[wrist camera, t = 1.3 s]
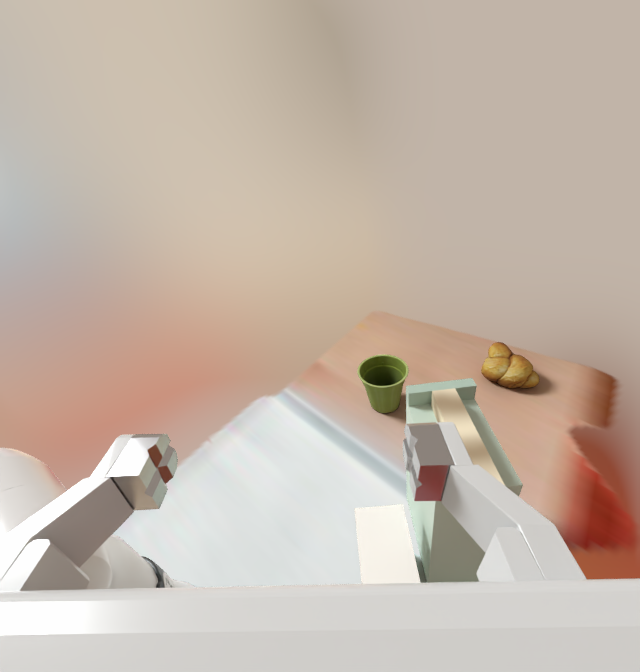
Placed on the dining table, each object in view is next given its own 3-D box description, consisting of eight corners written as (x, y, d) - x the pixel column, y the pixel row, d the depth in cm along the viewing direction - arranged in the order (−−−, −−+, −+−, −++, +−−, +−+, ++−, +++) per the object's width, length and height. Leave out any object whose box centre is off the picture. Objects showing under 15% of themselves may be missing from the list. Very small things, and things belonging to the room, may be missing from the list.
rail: (536, 577, 27) (544, 562, 25) (499, 579, 27) (506, 565, 26) (453, 403, 44) (455, 388, 42) (431, 406, 44) (432, 390, 42)
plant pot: (411, 389, 83) (411, 356, 77) (405, 424, 75) (405, 390, 68) (366, 384, 88) (363, 352, 81) (356, 416, 79) (352, 383, 73)
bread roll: (543, 381, 79) (551, 356, 74) (525, 402, 75) (532, 377, 70) (491, 359, 88) (496, 336, 83) (472, 378, 84) (476, 354, 79)
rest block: (423, 646, 44) (426, 611, 35) (372, 649, 44) (364, 615, 36) (403, 549, 54) (403, 504, 45) (362, 552, 54) (354, 508, 46)
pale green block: (487, 582, 49) (527, 471, 32) (427, 586, 49) (437, 480, 33) (454, 493, 60) (472, 378, 44) (406, 497, 61) (406, 386, 44)
